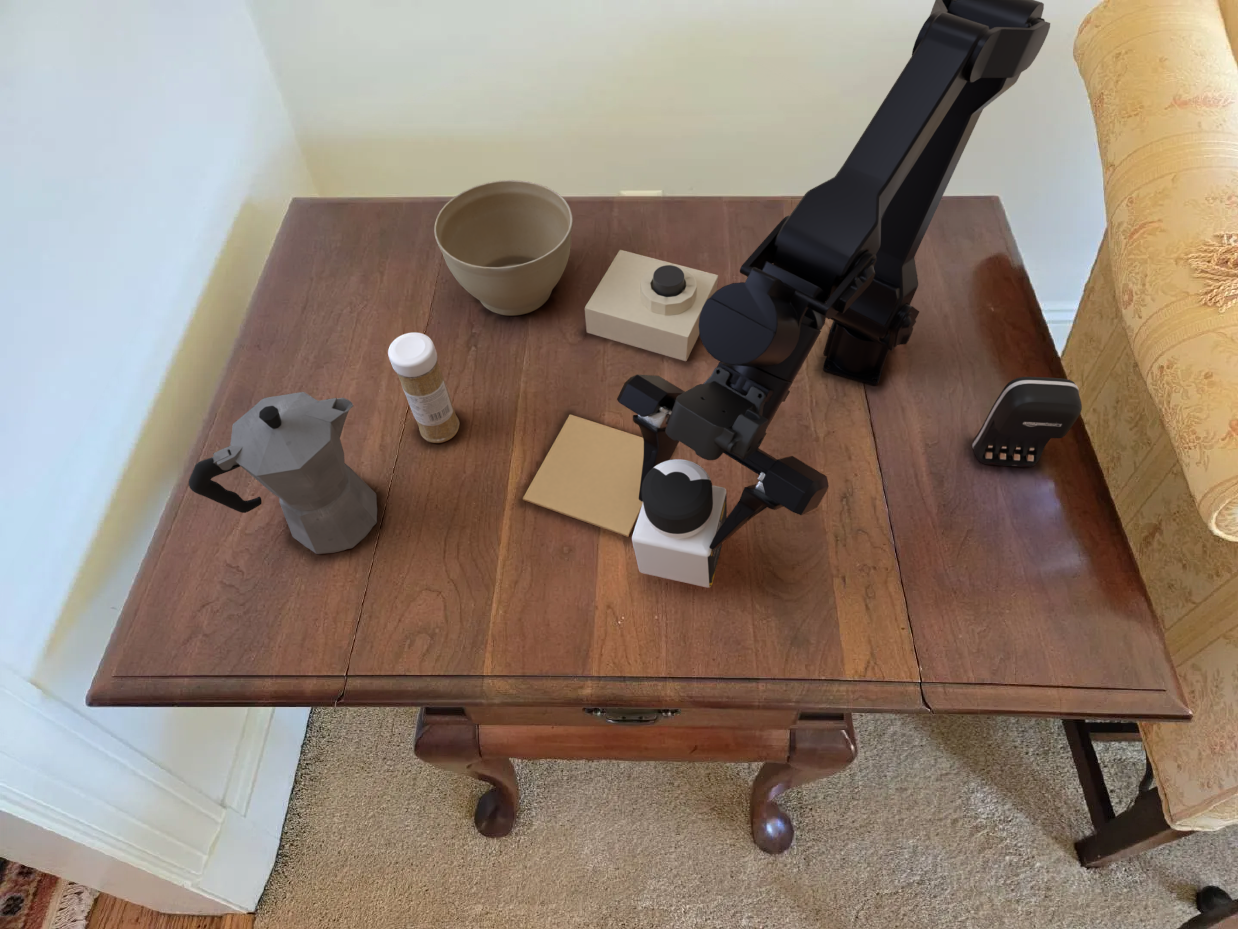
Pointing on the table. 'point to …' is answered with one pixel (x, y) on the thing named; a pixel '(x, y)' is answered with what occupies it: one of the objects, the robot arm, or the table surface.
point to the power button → (668, 281)
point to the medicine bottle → (679, 523)
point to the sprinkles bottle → (424, 386)
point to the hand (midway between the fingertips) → (676, 523)
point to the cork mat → (592, 475)
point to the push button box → (648, 306)
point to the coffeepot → (296, 470)
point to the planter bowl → (506, 243)
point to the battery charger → (1027, 420)
